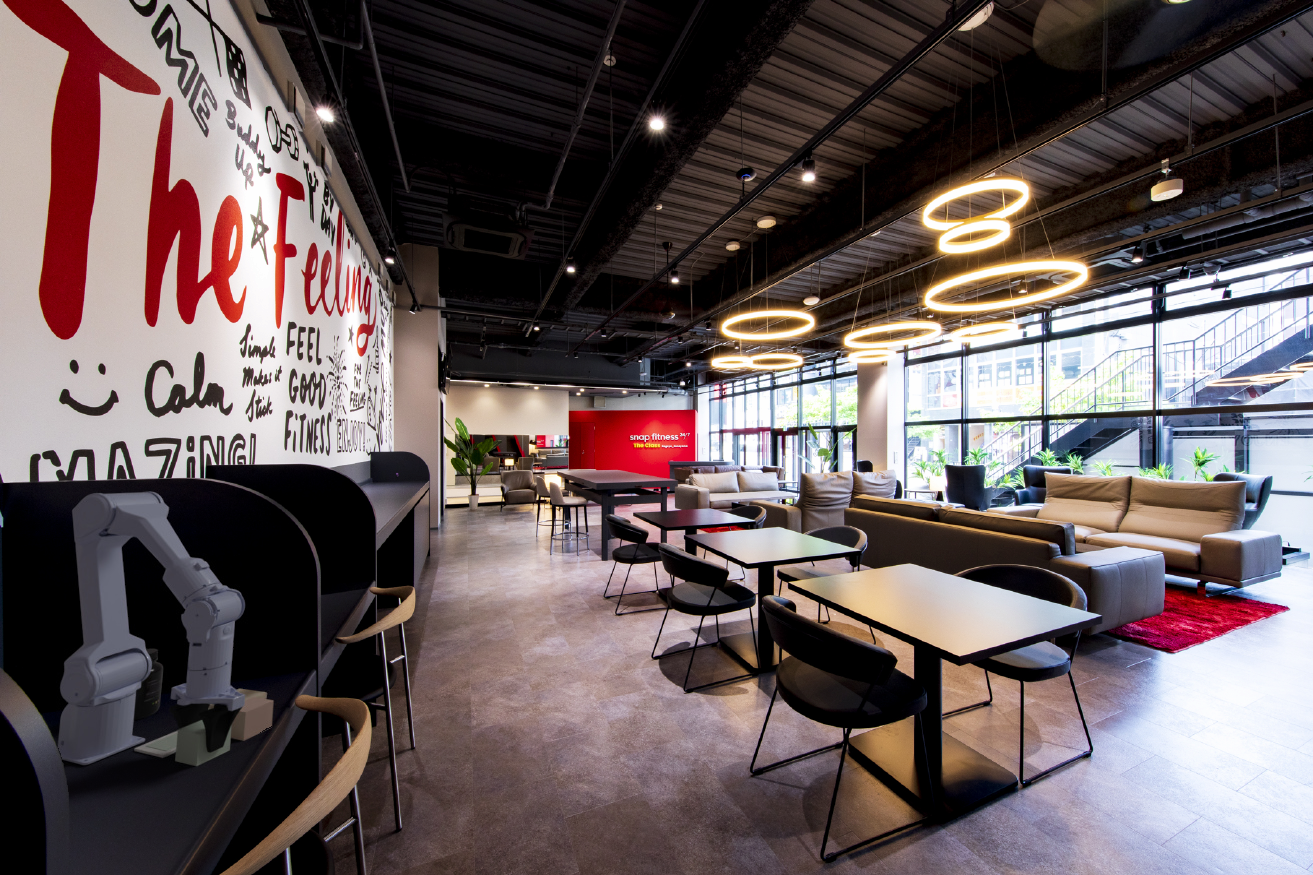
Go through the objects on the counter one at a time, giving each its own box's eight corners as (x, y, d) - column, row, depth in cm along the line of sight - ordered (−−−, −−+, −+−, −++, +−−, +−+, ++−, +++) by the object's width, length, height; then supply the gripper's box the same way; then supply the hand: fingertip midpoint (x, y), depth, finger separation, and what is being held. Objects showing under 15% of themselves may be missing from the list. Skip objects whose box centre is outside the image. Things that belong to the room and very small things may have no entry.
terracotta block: (223, 736, 92) (225, 708, 92) (251, 723, 96) (253, 696, 97) (243, 741, 90) (245, 712, 91) (271, 727, 95) (273, 700, 95)
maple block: (200, 725, 96) (201, 703, 96) (238, 708, 103) (239, 688, 103) (228, 730, 94) (230, 708, 94) (265, 713, 101) (266, 692, 101)
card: (134, 750, 86) (134, 747, 86) (182, 730, 93) (182, 728, 93) (162, 757, 84) (162, 754, 85) (209, 736, 91) (209, 733, 91)
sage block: (175, 760, 84) (177, 729, 84) (208, 745, 88) (211, 715, 89) (196, 766, 82) (199, 734, 83) (229, 750, 87) (232, 720, 87)
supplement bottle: (98, 725, 95) (105, 659, 96) (128, 708, 101) (134, 647, 102) (142, 722, 96) (147, 657, 97) (168, 705, 103) (173, 645, 104)
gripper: (152, 667, 85) (145, 751, 84) (214, 678, 81) (207, 767, 80) (200, 653, 91) (193, 731, 90) (259, 663, 87) (254, 744, 86)
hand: (203, 746), depth 85 cm, fingers closed on sage block, 5 cm apart
